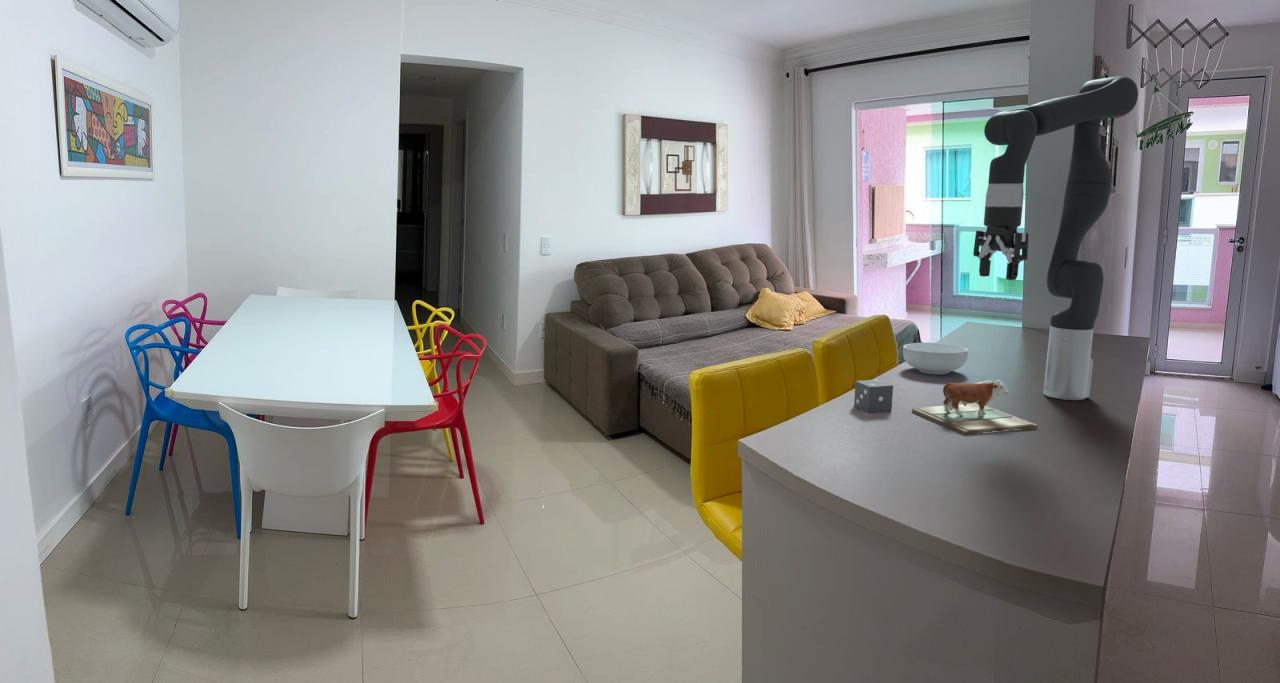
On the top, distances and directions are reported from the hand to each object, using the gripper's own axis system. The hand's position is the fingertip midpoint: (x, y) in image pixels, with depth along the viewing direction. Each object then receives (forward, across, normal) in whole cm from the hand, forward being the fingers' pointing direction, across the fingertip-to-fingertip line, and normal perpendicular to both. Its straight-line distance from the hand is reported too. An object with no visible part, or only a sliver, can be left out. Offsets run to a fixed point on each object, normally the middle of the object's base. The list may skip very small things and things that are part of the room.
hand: (997, 278), depth 174 cm
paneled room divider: (+30, -8, +10) cm, 33 cm away
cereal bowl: (+30, +36, -12) cm, 49 cm away
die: (+30, +6, +26) cm, 40 cm away
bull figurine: (+29, -8, +10) cm, 32 cm away
